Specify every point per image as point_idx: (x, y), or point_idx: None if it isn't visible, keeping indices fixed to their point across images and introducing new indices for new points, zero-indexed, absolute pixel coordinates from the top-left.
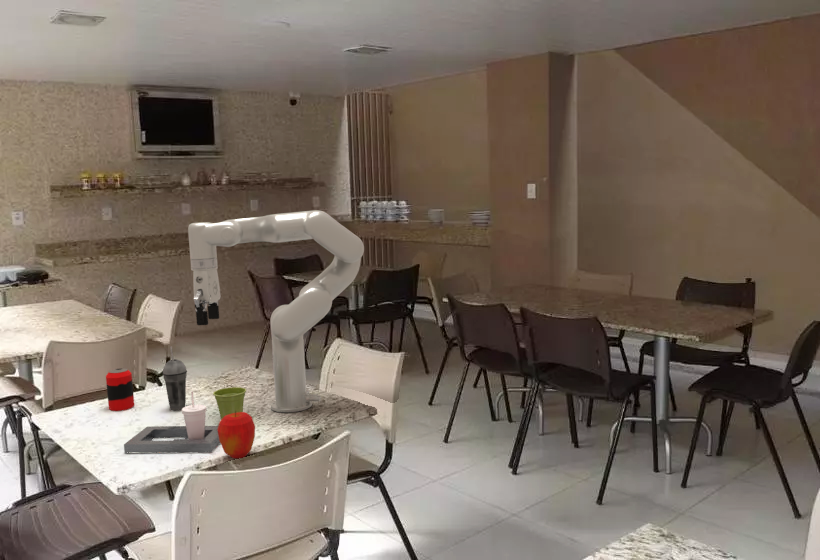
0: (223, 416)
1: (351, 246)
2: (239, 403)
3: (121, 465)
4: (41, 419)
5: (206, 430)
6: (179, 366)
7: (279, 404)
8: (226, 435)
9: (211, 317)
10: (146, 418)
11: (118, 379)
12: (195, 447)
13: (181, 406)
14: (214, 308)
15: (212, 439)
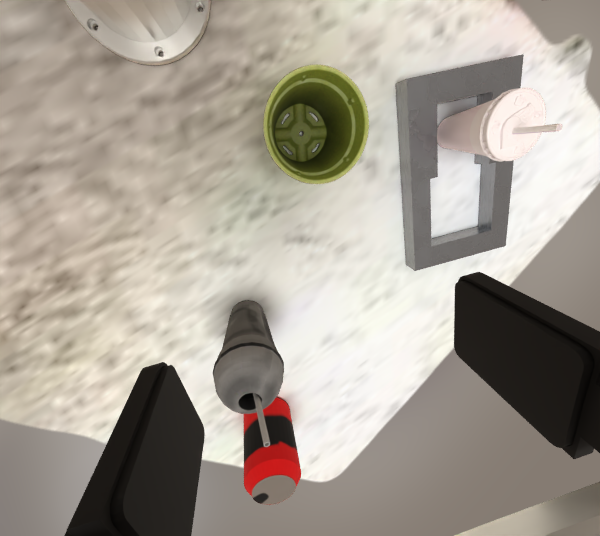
0: (332, 140)
1: None
2: (323, 88)
3: (542, 208)
4: (344, 466)
5: (436, 122)
6: (261, 364)
7: (188, 3)
8: None
9: (192, 422)
10: (317, 330)
11: (295, 459)
12: None
13: (254, 304)
14: (153, 500)
15: (500, 64)
